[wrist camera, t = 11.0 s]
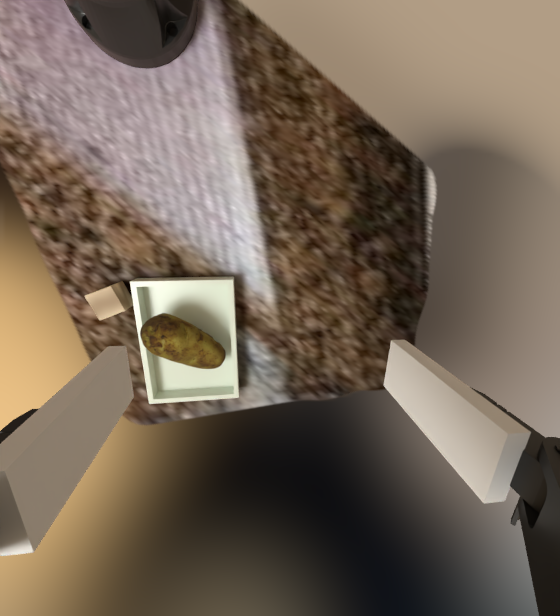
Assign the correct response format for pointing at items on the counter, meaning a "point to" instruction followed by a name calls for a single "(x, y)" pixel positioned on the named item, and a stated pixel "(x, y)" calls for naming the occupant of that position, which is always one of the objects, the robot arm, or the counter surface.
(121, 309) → the beech block
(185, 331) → the potato
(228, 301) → the tray
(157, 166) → the counter surface
